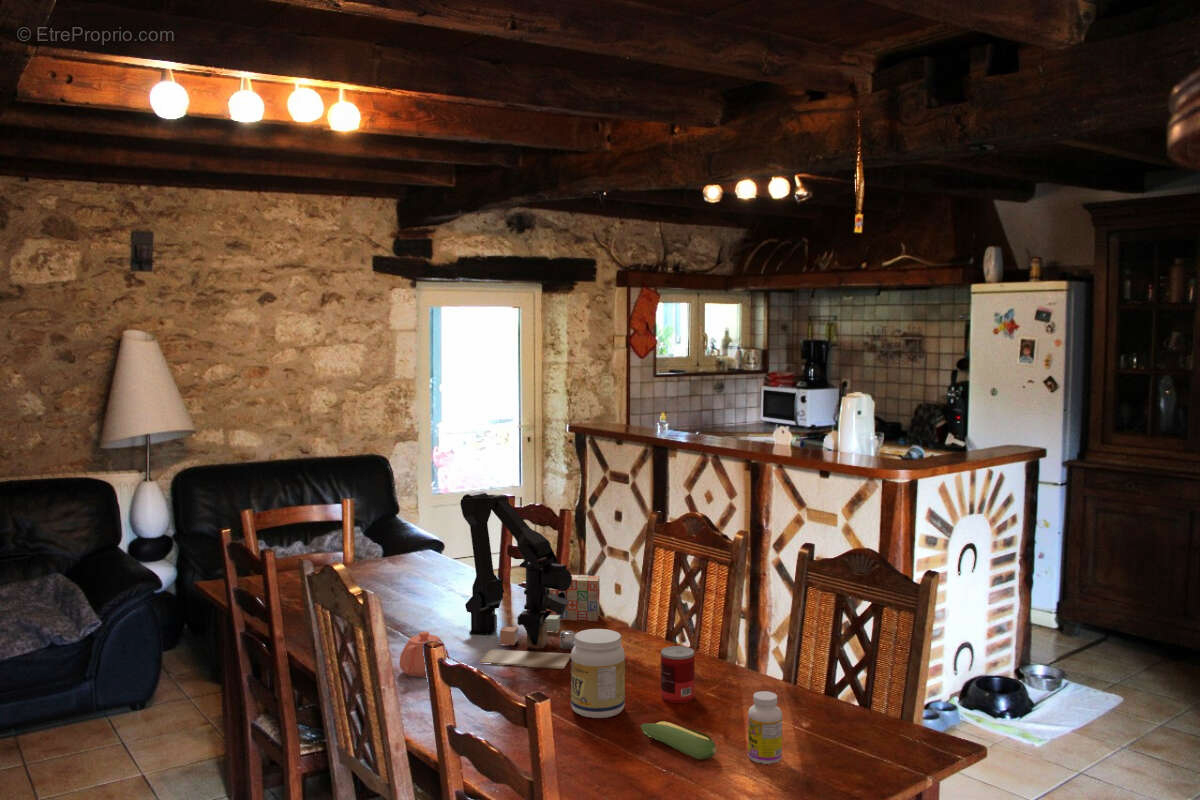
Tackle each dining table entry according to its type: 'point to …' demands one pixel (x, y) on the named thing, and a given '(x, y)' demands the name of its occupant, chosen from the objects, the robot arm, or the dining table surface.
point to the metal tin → (567, 639)
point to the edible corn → (681, 739)
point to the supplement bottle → (765, 729)
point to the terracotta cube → (509, 635)
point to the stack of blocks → (581, 598)
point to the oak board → (527, 658)
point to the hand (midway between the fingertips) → (536, 641)
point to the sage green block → (553, 623)
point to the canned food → (677, 674)
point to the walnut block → (539, 637)
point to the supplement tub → (597, 673)
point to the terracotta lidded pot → (416, 654)
